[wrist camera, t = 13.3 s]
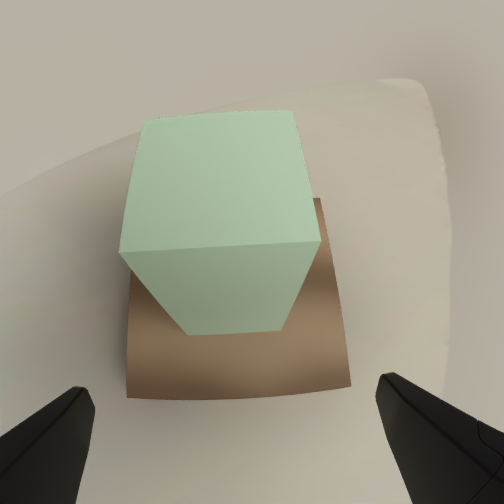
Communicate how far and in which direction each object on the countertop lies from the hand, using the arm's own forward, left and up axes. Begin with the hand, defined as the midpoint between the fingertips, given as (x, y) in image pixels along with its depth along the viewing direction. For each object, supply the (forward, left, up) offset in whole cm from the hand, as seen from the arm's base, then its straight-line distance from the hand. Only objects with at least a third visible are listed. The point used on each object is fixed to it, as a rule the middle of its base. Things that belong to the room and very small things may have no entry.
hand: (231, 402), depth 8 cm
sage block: (+5, +3, -7) cm, 10 cm away
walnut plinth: (+5, +3, -10) cm, 12 cm away
